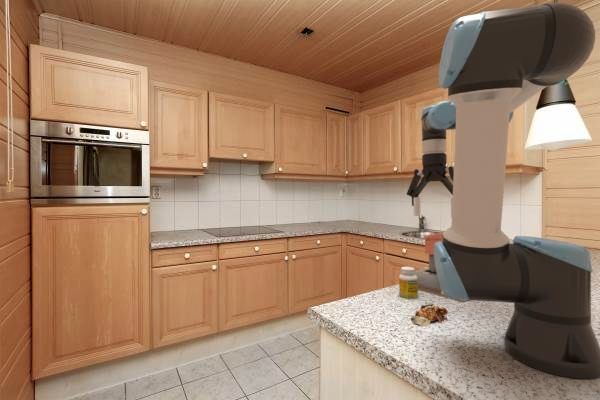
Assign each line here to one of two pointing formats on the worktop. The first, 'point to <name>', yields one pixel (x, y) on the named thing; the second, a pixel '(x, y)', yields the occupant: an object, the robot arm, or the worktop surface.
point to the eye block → (428, 280)
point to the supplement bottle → (408, 283)
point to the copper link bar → (432, 249)
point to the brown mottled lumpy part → (429, 314)
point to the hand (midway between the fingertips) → (434, 216)
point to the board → (438, 294)
